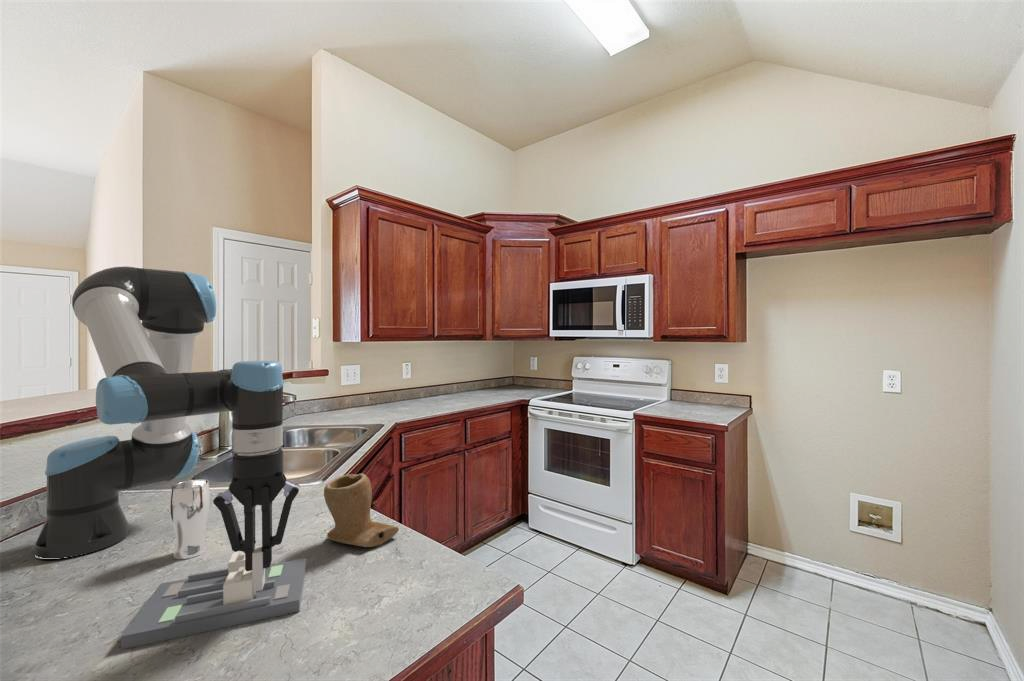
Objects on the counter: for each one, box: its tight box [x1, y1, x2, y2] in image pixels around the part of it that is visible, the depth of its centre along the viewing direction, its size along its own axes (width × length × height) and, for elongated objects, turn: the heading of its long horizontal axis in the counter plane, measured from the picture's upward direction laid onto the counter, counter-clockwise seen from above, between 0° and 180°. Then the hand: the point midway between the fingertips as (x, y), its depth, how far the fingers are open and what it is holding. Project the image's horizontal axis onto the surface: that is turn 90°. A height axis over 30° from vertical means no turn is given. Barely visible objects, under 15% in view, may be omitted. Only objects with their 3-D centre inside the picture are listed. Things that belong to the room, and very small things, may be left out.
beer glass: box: [169, 478, 211, 560], centre depth 93 cm, size 7×7×15 cm
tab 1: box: [227, 551, 246, 575], centre depth 80 cm, size 4×4×5 cm
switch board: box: [120, 557, 307, 651], centre depth 75 cm, size 24×15×3 cm, turn 112°
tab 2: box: [223, 567, 256, 605], centre depth 73 cm, size 4×4×5 cm
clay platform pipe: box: [323, 473, 400, 548], centre depth 98 cm, size 15×12×15 cm
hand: (258, 586), depth 74 cm, fingers closed
